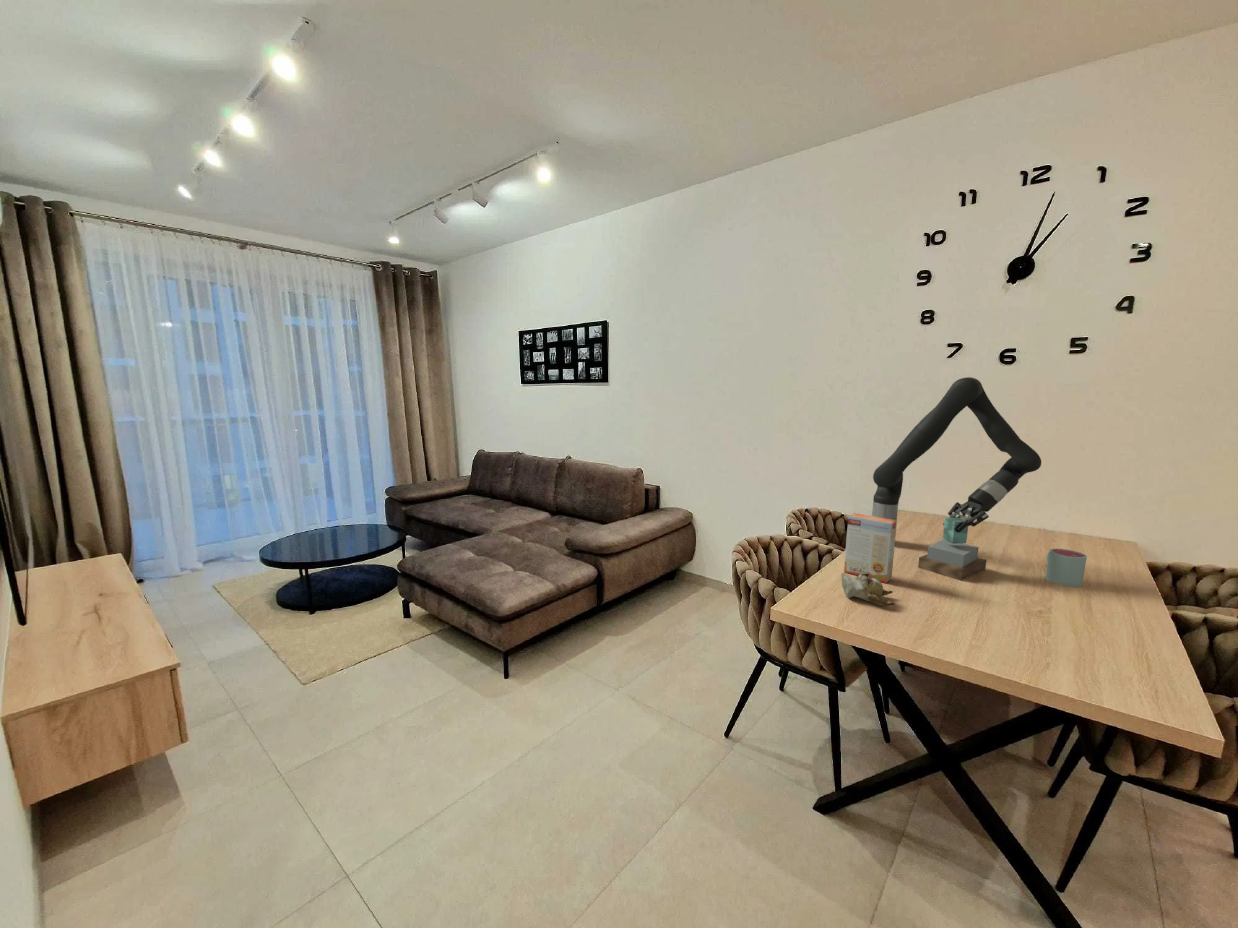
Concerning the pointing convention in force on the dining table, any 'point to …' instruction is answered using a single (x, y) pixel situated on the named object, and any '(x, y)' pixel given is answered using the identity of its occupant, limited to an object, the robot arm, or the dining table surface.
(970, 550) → the tower top slab
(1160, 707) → the dining table surface
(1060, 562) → the mug
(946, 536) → the teal pillar
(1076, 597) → the dining table surface
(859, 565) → the cracker box
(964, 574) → the tower base slab
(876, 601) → the ceramic sculpture
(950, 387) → the robot arm
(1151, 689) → the dining table surface
